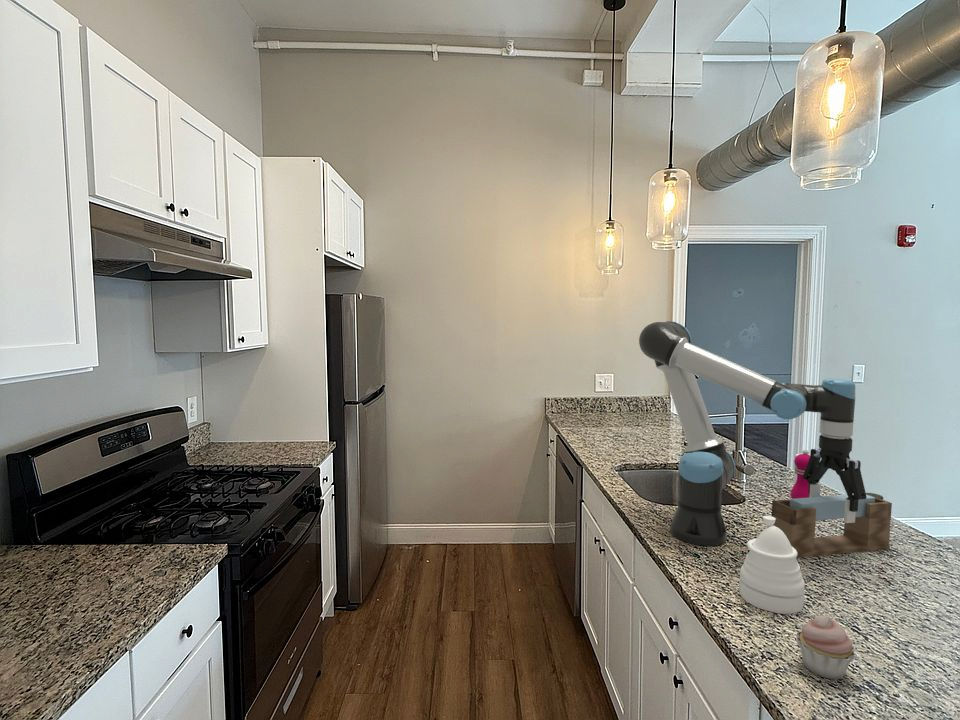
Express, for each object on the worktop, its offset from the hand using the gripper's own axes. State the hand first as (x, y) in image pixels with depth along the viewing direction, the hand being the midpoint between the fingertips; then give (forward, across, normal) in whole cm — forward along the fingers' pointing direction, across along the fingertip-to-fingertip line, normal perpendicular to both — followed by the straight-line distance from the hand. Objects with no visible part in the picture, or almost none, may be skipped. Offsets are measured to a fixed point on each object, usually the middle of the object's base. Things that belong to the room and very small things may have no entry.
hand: (831, 514), depth 145 cm
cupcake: (+10, -43, +43) cm, 62 cm away
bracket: (+9, 0, 0) cm, 9 cm away
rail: (0, 0, 0) cm, 0 cm away
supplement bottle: (+10, +5, -19) cm, 22 cm away
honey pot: (+10, -20, +35) cm, 41 cm away
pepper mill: (+10, +27, -16) cm, 33 cm away
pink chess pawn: (+10, +39, -28) cm, 49 cm away
